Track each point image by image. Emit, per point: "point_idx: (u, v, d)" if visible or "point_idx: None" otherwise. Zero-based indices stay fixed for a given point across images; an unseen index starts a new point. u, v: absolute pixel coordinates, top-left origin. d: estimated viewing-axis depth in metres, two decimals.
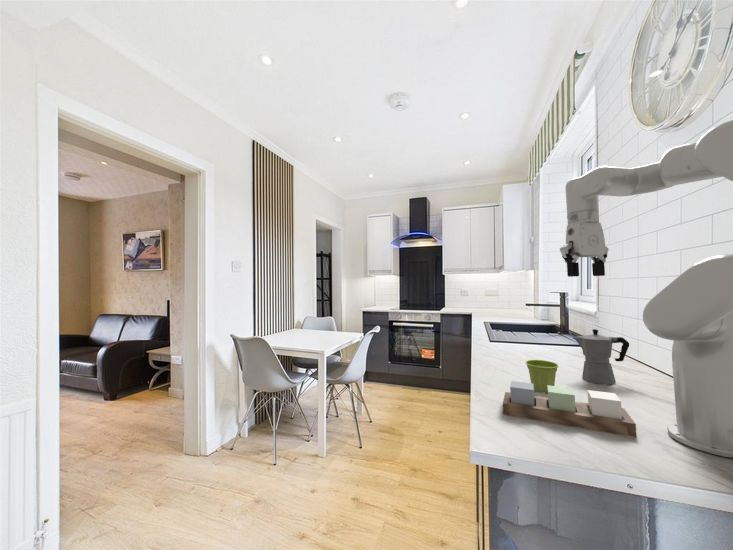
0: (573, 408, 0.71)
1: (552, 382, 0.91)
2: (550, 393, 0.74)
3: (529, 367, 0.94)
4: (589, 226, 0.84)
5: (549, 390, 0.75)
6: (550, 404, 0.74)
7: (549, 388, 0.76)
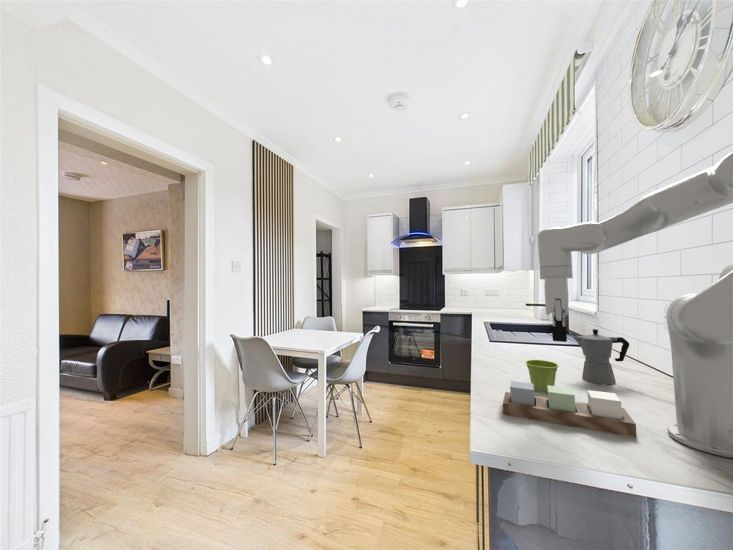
0: (573, 408, 0.71)
1: (552, 382, 0.91)
2: (550, 393, 0.74)
3: (529, 367, 0.94)
4: (544, 284, 0.81)
5: (549, 390, 0.75)
6: (550, 404, 0.74)
7: (549, 388, 0.76)
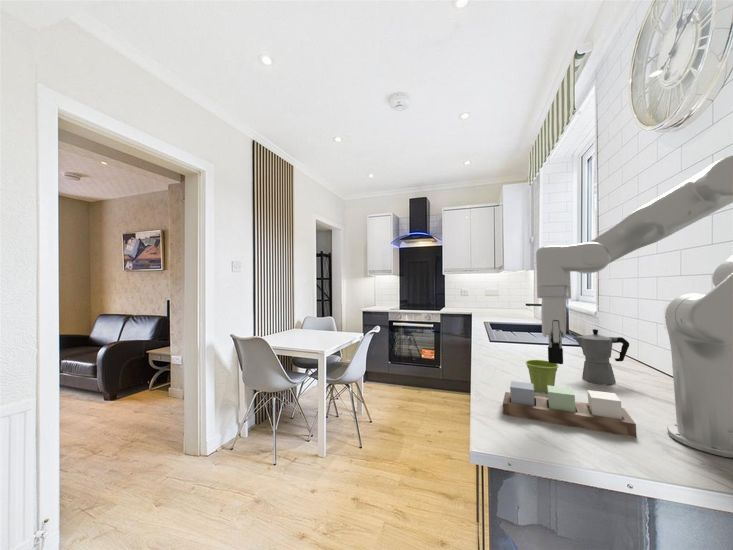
0: (573, 408, 0.71)
1: (552, 382, 0.91)
2: (550, 393, 0.74)
3: (529, 367, 0.94)
4: None
5: (549, 390, 0.75)
6: (550, 404, 0.74)
7: (549, 388, 0.76)
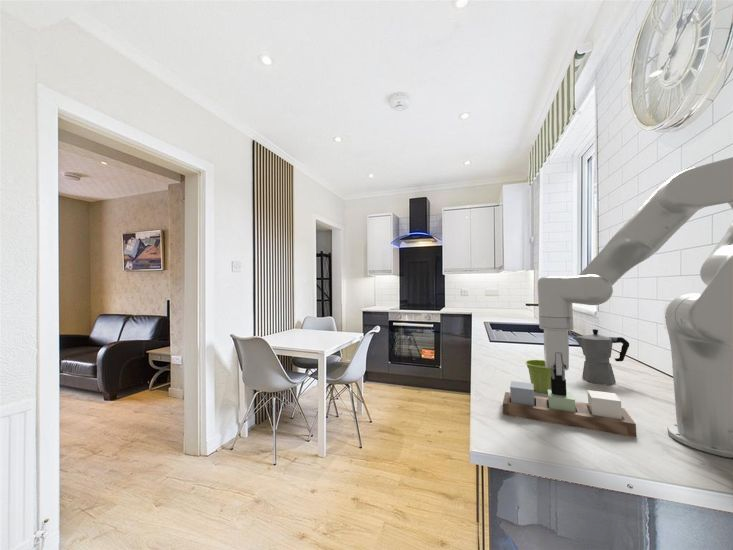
0: None
1: None
2: (550, 397, 0.74)
3: (529, 367, 0.94)
4: None
5: (549, 394, 0.75)
6: (550, 408, 0.74)
7: (549, 392, 0.76)
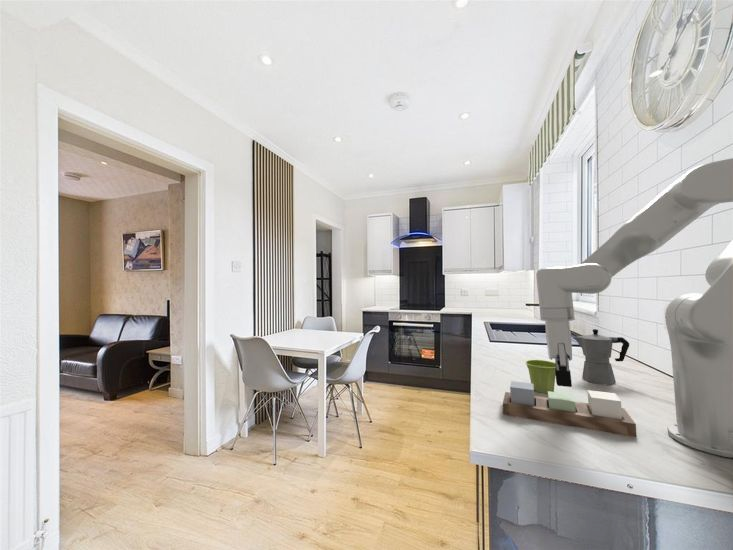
0: None
1: (552, 382, 0.91)
2: (550, 399, 0.74)
3: (529, 367, 0.94)
4: (545, 324, 0.78)
5: (549, 396, 0.75)
6: None
7: (549, 394, 0.76)
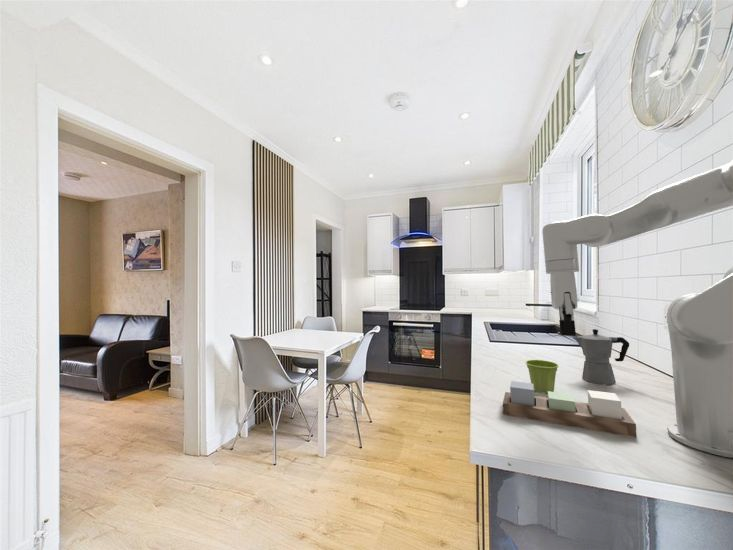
0: None
1: (552, 382, 0.91)
2: (550, 399, 0.74)
3: (529, 367, 0.94)
4: (550, 278, 0.81)
5: (549, 396, 0.75)
6: None
7: (549, 394, 0.76)
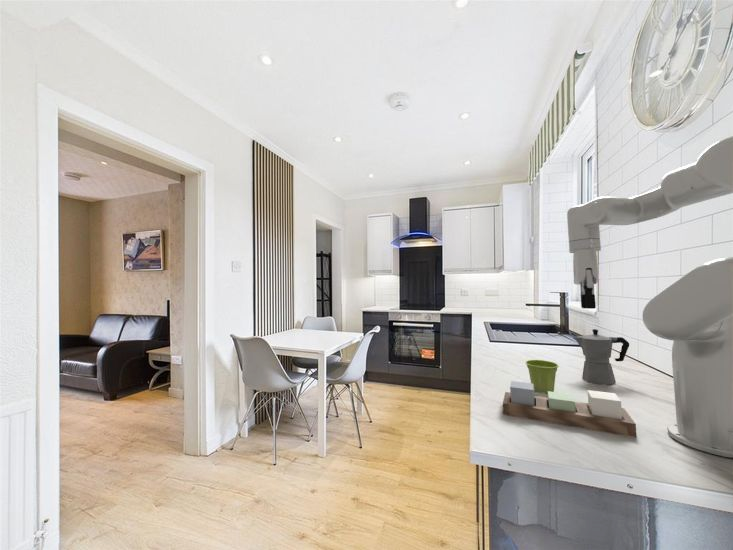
0: None
1: (552, 382, 0.91)
2: (550, 399, 0.74)
3: (529, 367, 0.94)
4: (573, 257, 0.88)
5: (549, 396, 0.75)
6: None
7: (549, 394, 0.76)
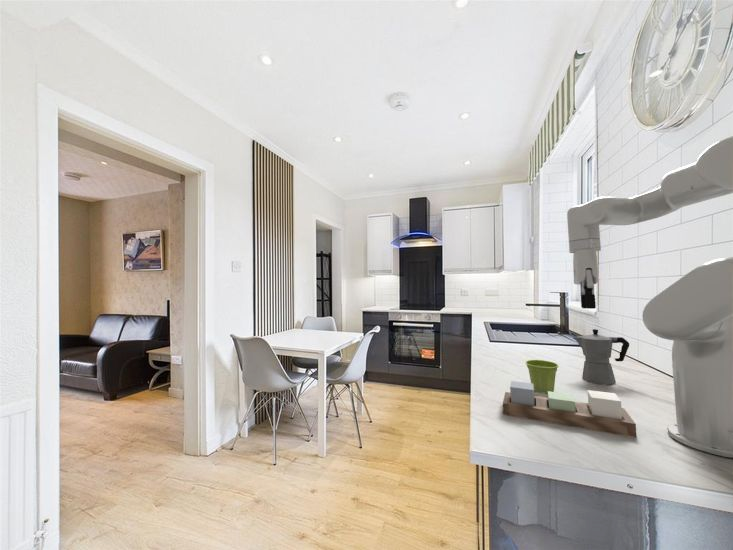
0: None
1: (552, 382, 0.91)
2: (550, 399, 0.74)
3: (529, 367, 0.94)
4: (573, 257, 0.88)
5: (549, 396, 0.75)
6: None
7: (549, 394, 0.76)
